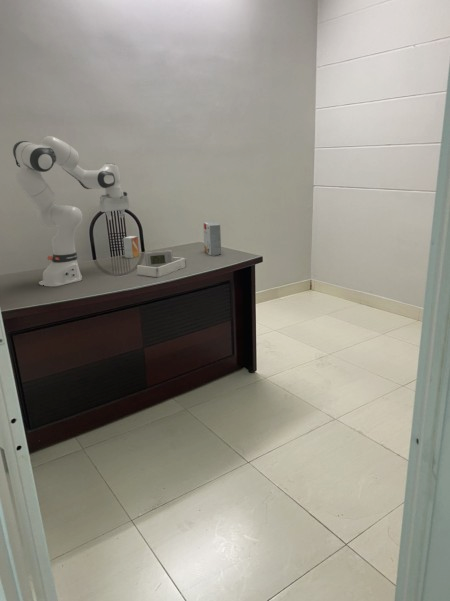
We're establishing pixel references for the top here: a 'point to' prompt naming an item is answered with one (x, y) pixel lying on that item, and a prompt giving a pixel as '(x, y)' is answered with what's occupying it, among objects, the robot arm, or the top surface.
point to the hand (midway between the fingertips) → (116, 218)
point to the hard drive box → (212, 238)
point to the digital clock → (158, 258)
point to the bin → (162, 268)
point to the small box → (131, 246)
